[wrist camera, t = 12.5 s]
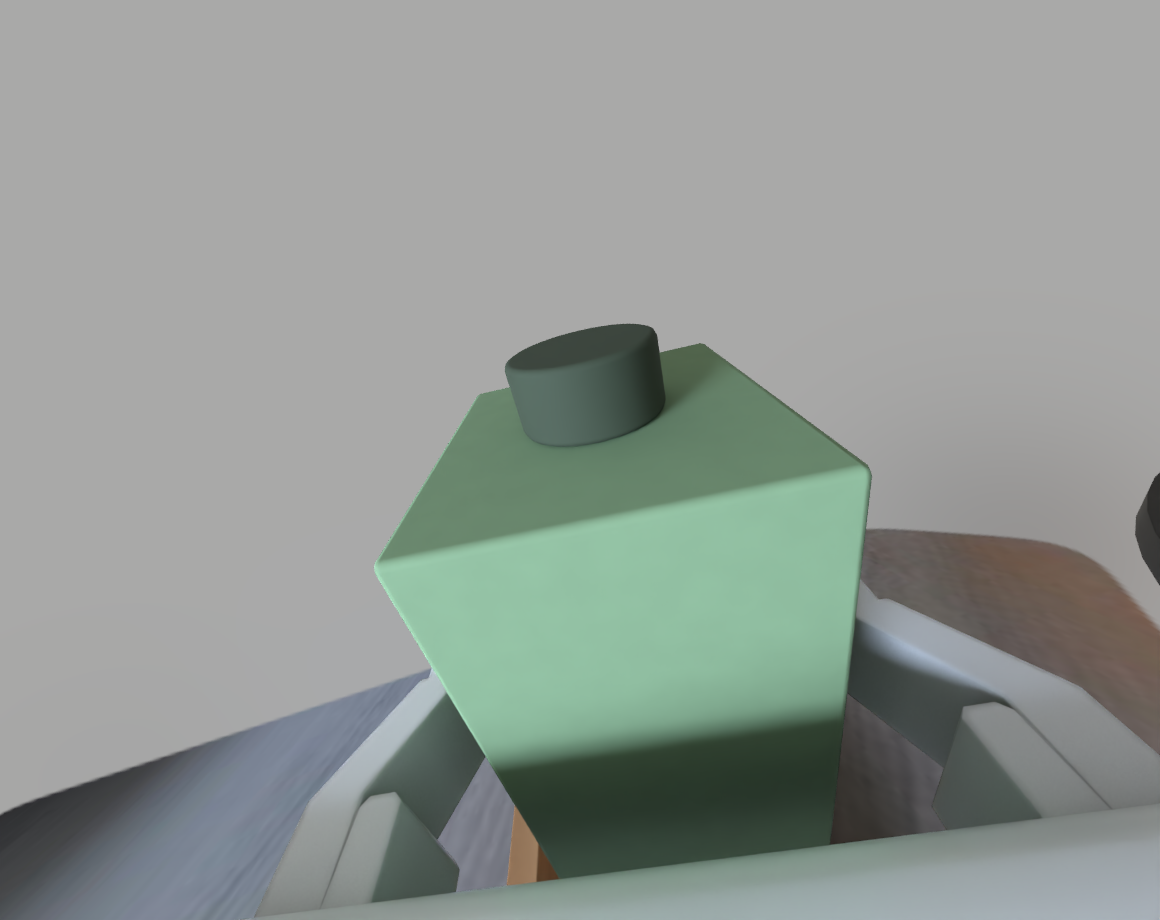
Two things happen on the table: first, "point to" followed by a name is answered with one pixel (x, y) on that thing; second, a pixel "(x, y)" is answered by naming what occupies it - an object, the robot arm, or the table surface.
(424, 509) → the green carton with cap
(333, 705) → the table surface
